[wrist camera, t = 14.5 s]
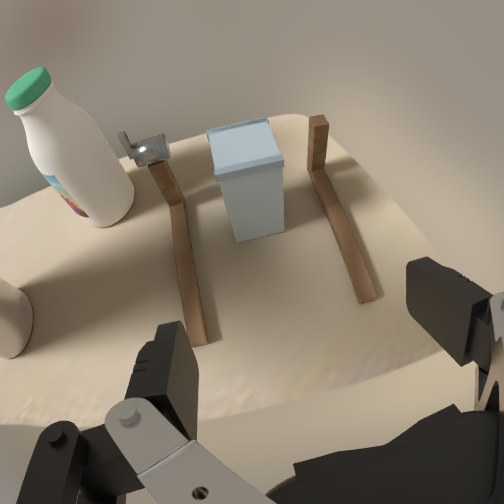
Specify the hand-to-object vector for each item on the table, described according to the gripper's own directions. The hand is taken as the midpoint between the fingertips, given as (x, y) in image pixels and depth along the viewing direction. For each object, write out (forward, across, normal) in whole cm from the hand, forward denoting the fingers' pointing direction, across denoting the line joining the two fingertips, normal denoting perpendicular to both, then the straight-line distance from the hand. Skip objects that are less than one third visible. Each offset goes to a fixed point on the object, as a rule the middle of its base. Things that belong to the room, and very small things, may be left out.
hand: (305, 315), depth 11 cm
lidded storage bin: (+24, +1, -2) cm, 24 cm away
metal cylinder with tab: (+22, -8, +6) cm, 24 cm away
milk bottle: (+30, -16, +2) cm, 34 cm away
